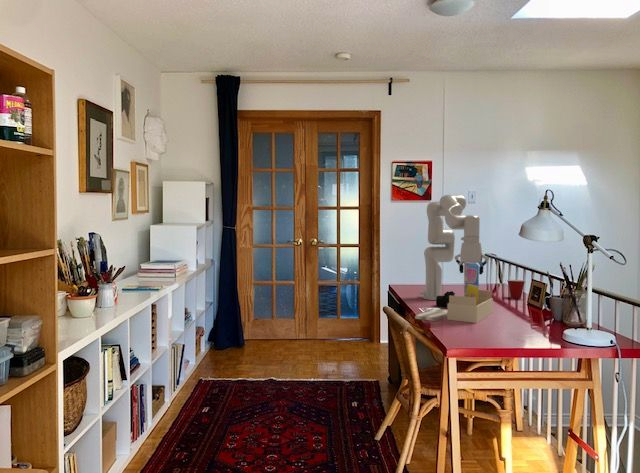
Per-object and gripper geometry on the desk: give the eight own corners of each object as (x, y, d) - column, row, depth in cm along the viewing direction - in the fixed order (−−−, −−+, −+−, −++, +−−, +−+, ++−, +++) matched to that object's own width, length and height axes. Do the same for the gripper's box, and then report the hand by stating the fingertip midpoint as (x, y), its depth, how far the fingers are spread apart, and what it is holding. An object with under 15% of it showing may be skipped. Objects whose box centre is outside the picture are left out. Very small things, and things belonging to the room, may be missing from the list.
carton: (447, 319, 255) (447, 295, 254) (465, 310, 279) (465, 288, 278) (477, 322, 247) (477, 298, 246) (492, 313, 271) (492, 290, 270)
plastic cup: (523, 297, 322) (523, 278, 321) (526, 300, 311) (527, 280, 311) (505, 297, 324) (505, 278, 324) (508, 299, 313) (508, 280, 313)
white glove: (415, 318, 257) (415, 315, 257) (432, 311, 277) (432, 308, 277) (436, 321, 251) (436, 318, 251) (452, 313, 271) (452, 310, 271)
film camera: (438, 304, 299) (438, 288, 299) (455, 305, 296) (455, 289, 296) (434, 308, 285) (435, 292, 285) (452, 309, 282) (453, 293, 281)
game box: (478, 320, 252) (479, 265, 251) (466, 320, 253) (467, 265, 252) (474, 312, 272) (474, 261, 271) (463, 312, 273) (464, 261, 272)
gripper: (452, 239, 263) (452, 273, 263) (486, 240, 253) (486, 275, 254) (457, 239, 269) (456, 271, 270) (490, 240, 260) (490, 273, 260)
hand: (471, 273), depth 262 cm, fingers open, 9 cm apart
